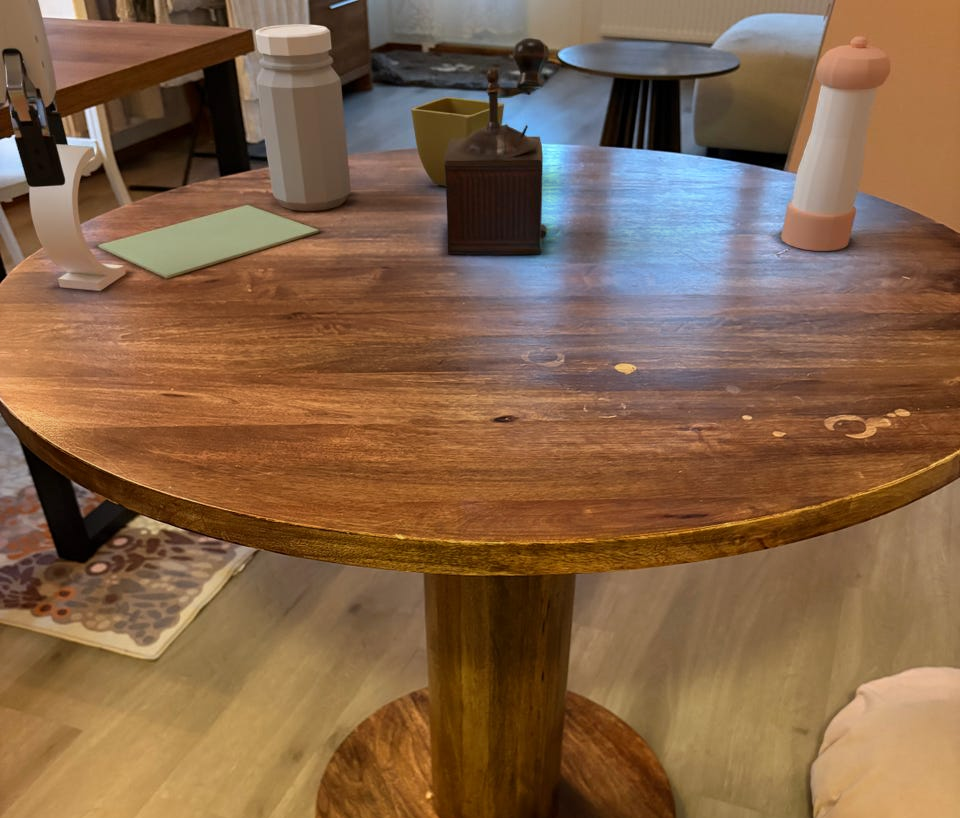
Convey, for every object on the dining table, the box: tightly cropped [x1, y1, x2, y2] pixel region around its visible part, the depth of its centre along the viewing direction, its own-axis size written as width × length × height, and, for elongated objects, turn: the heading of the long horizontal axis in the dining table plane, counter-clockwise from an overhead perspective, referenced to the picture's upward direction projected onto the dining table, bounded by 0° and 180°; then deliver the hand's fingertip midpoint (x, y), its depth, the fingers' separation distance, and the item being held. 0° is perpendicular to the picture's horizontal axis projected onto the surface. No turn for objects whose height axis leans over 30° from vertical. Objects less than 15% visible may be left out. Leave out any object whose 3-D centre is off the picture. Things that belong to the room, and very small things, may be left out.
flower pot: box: [410, 96, 505, 187], centre depth 117 cm, size 9×9×9 cm
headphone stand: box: [29, 144, 127, 292], centre depth 90 cm, size 5×6×12 cm
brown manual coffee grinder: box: [445, 37, 550, 255], centre depth 99 cm, size 16×11×18 cm
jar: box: [254, 23, 352, 212], centre depth 108 cm, size 10×10×18 cm
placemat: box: [97, 204, 320, 279], centre depth 103 cm, size 20×14×1 cm
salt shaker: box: [780, 35, 891, 252], centre depth 96 cm, size 7×7×19 cm
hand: (51, 172), depth 86 cm, fingers open, 9 cm apart
